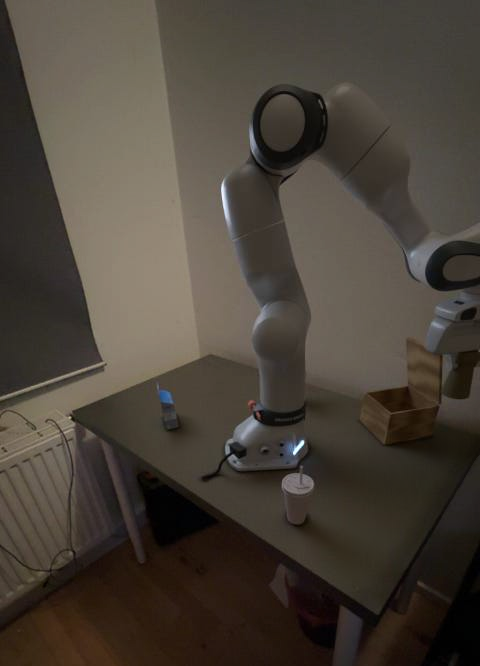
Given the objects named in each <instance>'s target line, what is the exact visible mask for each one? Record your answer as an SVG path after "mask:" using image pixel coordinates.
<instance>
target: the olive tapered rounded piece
mask: <svg viewBox="0 0 480 666" xmlns="http://www.w3.org/2000/svg"><path fill="white" fill-rule="evenodd" d="M454 358H455V362H457V363H459V364H458V366H457V370H453V371H448V374H447V376H446V378H445V381H444V383H443V384H442V389H441V393H442V396H444V397H446V398H448V399H453V400H467V399H469V398H470V396H471V395H470V394H471V389H472V383H473V378H474V371H475V367H474V366H475V364H477V363H478V362H479V360H480V352H479V350H473V351H466V352H459V353H458V355H457V357H454Z"/></svg>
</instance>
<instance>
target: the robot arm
mask: <svg viewBox="0 0 480 666" xmlns="http://www.w3.org/2000/svg"><path fill="white" fill-rule="evenodd" d="M250 115H251V116H250V119H249V126H248V127H249V128H248V135H249V154H248V157H247V158H246V160H245V161H243V163H241V164H238V165H236V166H234V167H233V168H232V169H231V170H229V172H228V173H227V174H226V175H225V177H224V178H223V180H222V183H221V186H220V187H221V188H220V189H221V190H220V192H221V193H220V194H221V199H222V200H221V201H222V207H223V213H224V217H225V222H226V226H227V231H228V234H229V237H230V241H231V245H232V248H233V251H234V255H235V257H236V261H237V264H238V267H239V271H240V274H241V277H242V280H243V282H244V283H245V284H246V286H247V287H248V288H249V290H250V292H251V294H252V296H253V298H254V300H255V302H256V304H257V306H258V309H259V312H260V313H259V315H258V316H257V318H256V319H255V321H254V324H253V328H252V333H251V344H252V347H253V350H254V352H255V358H256V362H257V367H258V372H259V396H260V397H259V398H260V399H259V400H258V402H257V403H256V401H255V400H254V399H250V400H248V402H247V406H248V408H249V409H250V410H251V411H252V415H250V416H249V417H247V418H246V419H245V420H243V421H242V422H241V423H240V424H238V425H236V427H235V428H234V431H233V436H232V437H231V438H229V439H227V440H226V443H225V446H224V454H225V456H224V457H223V458H222V459H221V460H220V461H219V464H218V467H217V469H216V470H215V471H214V472H212V473H209V474H208V473H207V474H205V475H202V476H201V480H205V479H208V478H212V477H215V476H216V475H217V474H219V473H220V472H221V470H222V466H223V465H224V463H225V461H227V462H228V464H229V465H230V466H231V468H233V469H234V470H236V471H238V472H248V471H249V472H250V471H251V472H252V471H269V470H272V471H273V470H286V469H288V470H290V469H295V468H297V467H298V465H299V462H300V461H301V460H302V459H303V458H304V457H305V456H306V455H307V454H308V451H309V445H308V442H307V437H306V431H305V430H306V429H305V421H306V416H307V402H306V399H305V398H306V383H307V382H306V381H307V369H306V341H307V337H308V331H309V329H310V325H311V323H312V312H311V308H310V304H309V301H308V298H307V294H306V291H305V288H304V284H303V282H302V280H301V277H300V274H299V270H298V268H297V265H296V262H295V258H294V255H293V249H292V246H291V242H290V237H289V233H288V229H287V225H286V221H285V218H284V213H283V209H282V205H281V199H280V186H281V185H283V184H284V183H285V182H286V181H287V180H289V179H290V178H291V177H293V176H294V175H295V174H296V173H297V172H298V170H300V168H301V167H302V166H303V165H304V164H305V163H306V162H307V161H316V162H319V163H320V164H322V165H323V166H324V167H325V168H327V169H328V171H330V173H331V174H332V176H333V177H334V179H335V180H336V181H337V182H338V183H339V185H340V186H341V188H342V189H343V190H344V191H345V192H346V193H347V194H348V195H349V196H350V197H351V198H352V200H354V201H355V202H357V203H358V204H359V205H360V206H362V207H363V208H364V209H365V210H367V211H368V212H369V213H371V214H372V215H374V216H375V217H376V218H378V219H379V220H380V222H381V223H382V224H383V225H384V226H385V228H386V229H387V231H388V232H389V234H390V235H391V236H392V237H393V239H394V240H395V242H396V243H397V244H398V245H399V247H400V248H401V250H402V253H403V256H404V257H403V258H404V263H405V268H406V271H407V273H408V275H409V277H410V278H411V279H412V280H414V281H416V282H418V283H421V284H423V285H425V286H427V287H428V288H430V289H432V290H434V291H437V292H453V291H460V293H459V294H456V295H455V296H453V297H451V298H449V299H447V300H445V301H443V302H441V303H438V304H437V305H436V306H435V308H434V312H433V313H434V315H435V316H436V317H434V318H433V319H432V321H431V322H430V324H429V327H428V331H427V333H426V338H425V342H424V344H425V348H426V350H427V351H428V352H429V353H431V354H433V355H443V356H444V357H445V360H446V364H445V369H446V370H447V371H448V372H450V371H453V370H457V366H458V364H459V363H457V362H455V358H454V357H457V355H458V353H459V352H466V351H473V350H478V351H479V352H480V221H479V222H478V223H476V224H474V225H473V226H470V227H468V228H467V229H464V230H462V231H460V232H457V233H455V234H452V235H448V234H446V233H443V232H441V231H439V230H437V229H434V228H433V227H431V226H430V224H429V222H428V221H427V220H426V218H425V216H424V215H423V214H422V212H421V211H420V209H419V208H418V206H417V205H416V203H415V202H414V200H413V198H412V196H411V195H410V190H409V185H408V184H409V175H410V171H411V161H412V160H411V157H410V155H409V152H408V149H407V147H406V145H405V143H404V141H403V139H402V137H401V135H400V134H399V132H398V131H397V129H396V127H395V126H394V124H393V123H392V122H391V121H390V119H389V118H388V116H387V115H386V114H385V113H384V111H383V110H382V109H381V108H380V107H379V105H378V104H377V103H376V102H375V101H374V100H373V99H372V98H371V97H370V96H369V95H368V94H366V92H364V91H363V90H362V89H361V88H359V87H358V86H357V85H356V84H355V83H353V82H349V81H344V82H341V83H339V84H337V85H335V86H334V87H331V89H329V90H328V91H327V93H325V94H324V95H321V93H318V92H315V91H311V90H307V89H304V88H301V87H299V86H297V85H293V84H290V83H289V84H288V83H280V84H276V85H274V86H271V87H270V88H269V89H267V90H266V91H265V92H264V93H262V95H261V96H260V97H259V99H258V100H257V102H256V103H255V106H254V108H253V110H252V112H251V114H250ZM474 368H480V360H479V362H478V363H477V364H475V366H474Z"/></svg>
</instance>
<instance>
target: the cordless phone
mask: <svg viewBox="0 0 480 666" xmlns="http://www.w3.org/2000/svg"><path fill="white" fill-rule="evenodd" d="M156 385H157V393H158V398H159V402H160V407H161V412H162V416H163V420H164V424H165V428H166V430H167V431H169V430H174V429H177V428H179V422H178V417H177V413H176V408H175V403H174V400H173V397H172V393H171V391H167V390H162V389H159V382H157V383H156Z"/></svg>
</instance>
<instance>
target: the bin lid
mask: <svg viewBox="0 0 480 666" xmlns="http://www.w3.org/2000/svg"><path fill="white" fill-rule="evenodd" d="M405 347H406V348H405V350H406V371H407V372H406V373H407V374H406V376H407V386H410V387H412V388H413V389H415V390H416V391H418V392H419V393H421V394H422V395H424V396H425V397H427V398H428V399H430V400H431V401H433V402H434V403H436V404H437V405H439V406H440V405H442V403H443V400H442V399H443V397H442V396H443V394H442V393H441V389H442V387H443V365H444V363H443V362H444V361H443V360H444V358H443V357H444V355H433V354H431V353H429V352H428V351H427V350H426V348H425V343H423V342H421V341H419V340H417V339H415V338H412V337H410V336H406V337H405Z"/></svg>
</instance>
